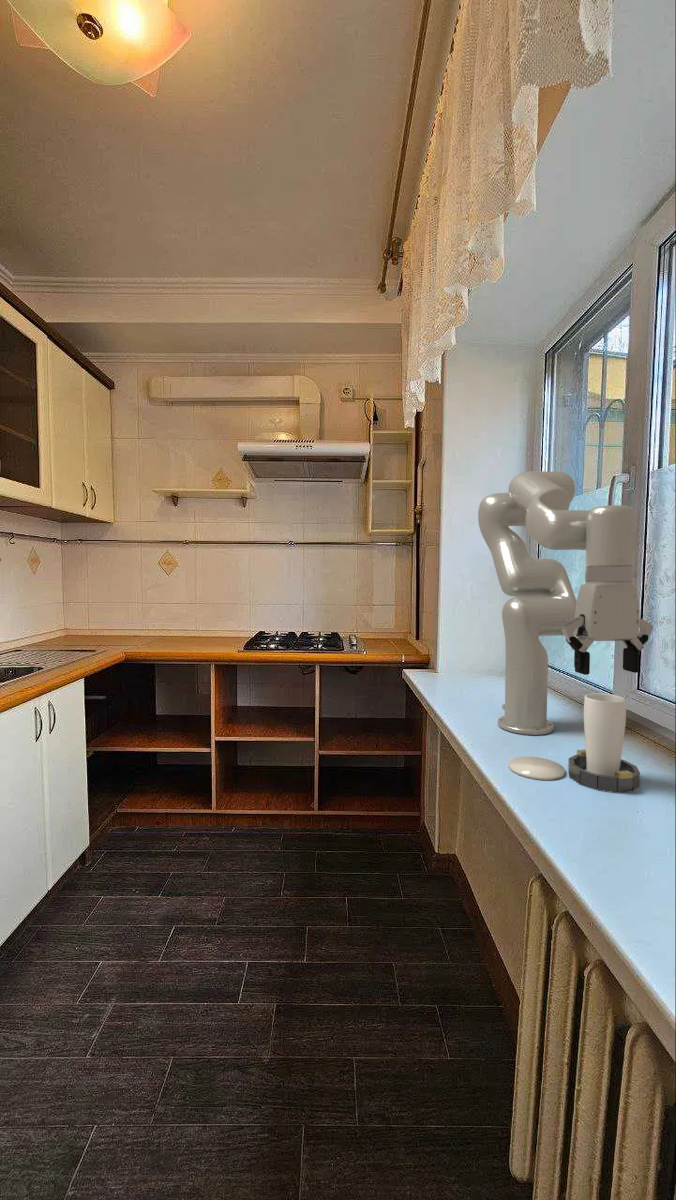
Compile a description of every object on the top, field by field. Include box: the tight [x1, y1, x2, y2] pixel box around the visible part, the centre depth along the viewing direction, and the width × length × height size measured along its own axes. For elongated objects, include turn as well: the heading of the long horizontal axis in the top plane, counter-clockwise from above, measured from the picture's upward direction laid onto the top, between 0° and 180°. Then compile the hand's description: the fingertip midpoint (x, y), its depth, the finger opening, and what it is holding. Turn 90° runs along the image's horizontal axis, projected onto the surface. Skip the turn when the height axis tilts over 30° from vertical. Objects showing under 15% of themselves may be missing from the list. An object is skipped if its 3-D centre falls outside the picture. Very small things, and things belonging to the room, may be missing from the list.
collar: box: [567, 749, 641, 793], centre depth 92 cm, size 12×11×3 cm
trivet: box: [508, 756, 566, 781], centre depth 96 cm, size 10×10×1 cm
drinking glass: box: [583, 692, 627, 777], centre depth 91 cm, size 7×7×15 cm
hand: (606, 672), depth 90 cm, fingers open, 9 cm apart
